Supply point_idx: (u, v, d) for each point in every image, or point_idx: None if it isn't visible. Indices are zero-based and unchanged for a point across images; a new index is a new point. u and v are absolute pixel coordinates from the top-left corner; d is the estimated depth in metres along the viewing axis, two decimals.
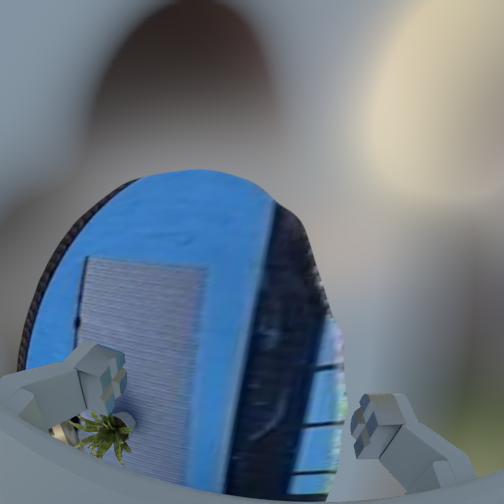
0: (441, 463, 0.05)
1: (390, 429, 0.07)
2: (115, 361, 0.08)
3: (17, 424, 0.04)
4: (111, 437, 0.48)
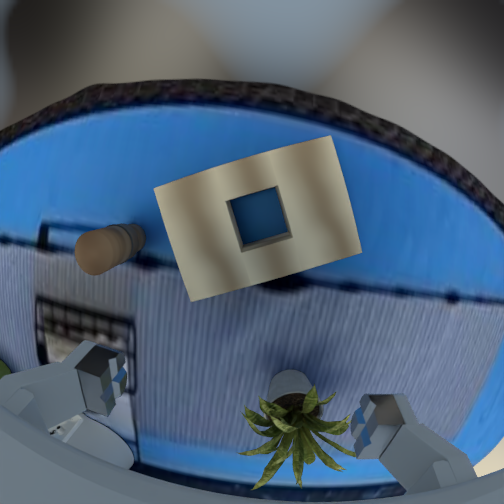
0: (441, 463, 0.05)
1: (390, 429, 0.07)
2: (115, 361, 0.08)
3: (17, 424, 0.04)
4: None
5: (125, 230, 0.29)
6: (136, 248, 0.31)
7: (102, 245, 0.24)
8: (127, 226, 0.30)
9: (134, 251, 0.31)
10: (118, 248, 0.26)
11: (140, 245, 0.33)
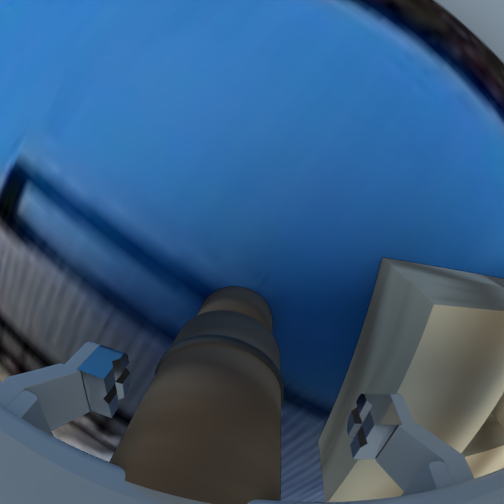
0: (437, 464, 0.05)
1: (386, 429, 0.07)
2: (119, 362, 0.08)
3: (17, 424, 0.04)
4: None
5: (278, 379, 0.09)
6: None
7: None
8: (270, 341, 0.10)
9: None
10: None
11: None
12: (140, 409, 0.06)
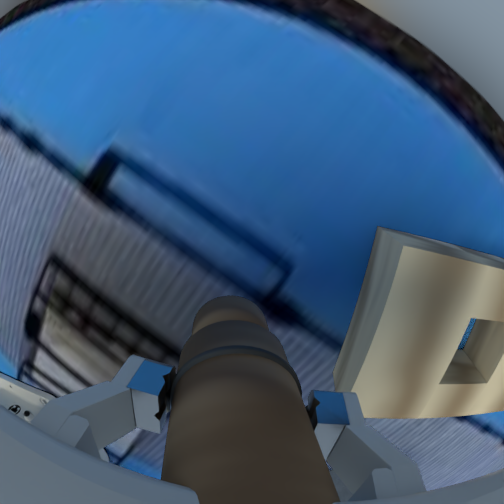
0: (383, 471, 0.05)
1: (333, 429, 0.07)
2: (168, 376, 0.08)
3: (17, 424, 0.04)
4: None
5: (296, 381, 0.09)
6: None
7: None
8: (279, 346, 0.10)
9: None
10: None
11: None
12: (179, 432, 0.06)
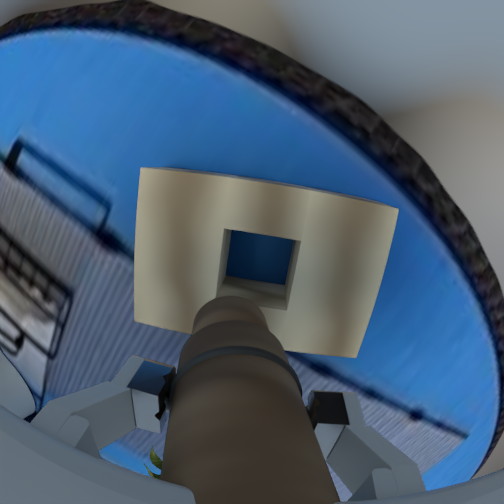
0: (383, 471, 0.05)
1: (333, 429, 0.07)
2: (169, 376, 0.08)
3: (17, 424, 0.04)
4: None
5: (297, 382, 0.09)
6: None
7: None
8: (279, 347, 0.10)
9: None
10: None
11: None
12: (178, 433, 0.06)
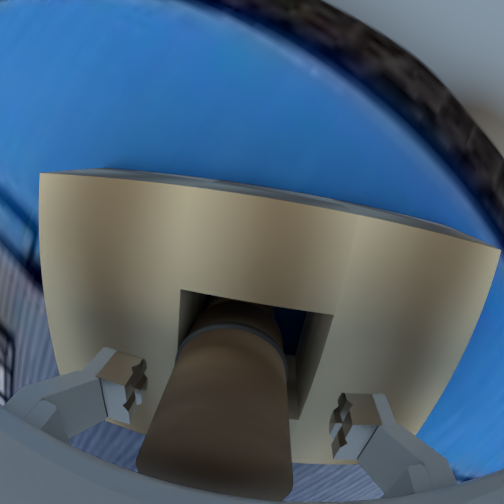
0: (417, 467, 0.05)
1: (366, 430, 0.07)
2: (138, 368, 0.08)
3: (17, 424, 0.04)
4: None
5: (282, 358, 0.10)
6: None
7: (269, 483, 0.06)
8: (274, 327, 0.12)
9: None
10: None
11: None
12: (170, 386, 0.08)
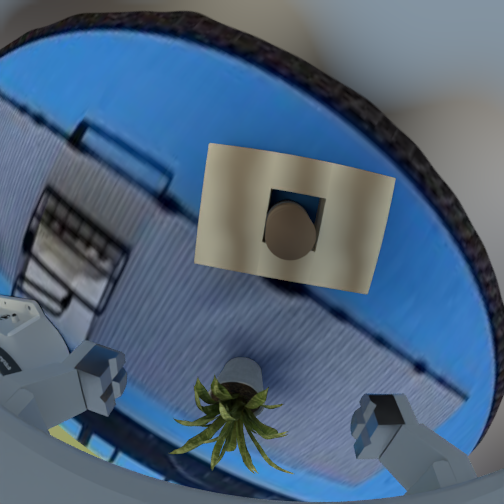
0: (441, 463, 0.05)
1: (390, 429, 0.07)
2: (115, 361, 0.08)
3: (17, 424, 0.04)
4: None
5: (308, 216, 0.28)
6: None
7: (308, 233, 0.23)
8: None
9: None
10: None
11: None
12: (272, 213, 0.26)
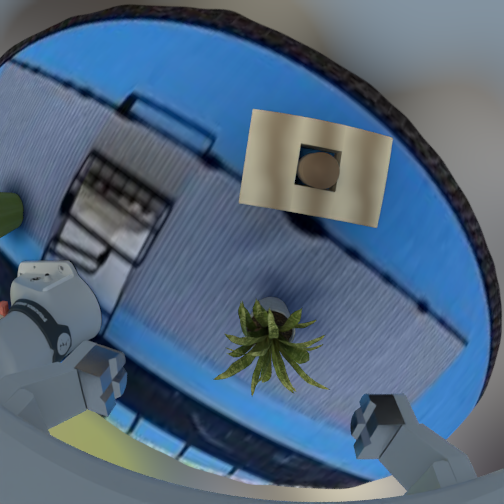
0: (441, 463, 0.05)
1: (390, 429, 0.07)
2: (115, 361, 0.08)
3: (17, 424, 0.04)
4: (261, 339, 0.38)
5: None
6: None
7: (334, 169, 0.31)
8: None
9: None
10: None
11: None
12: (305, 157, 0.33)
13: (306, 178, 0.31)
